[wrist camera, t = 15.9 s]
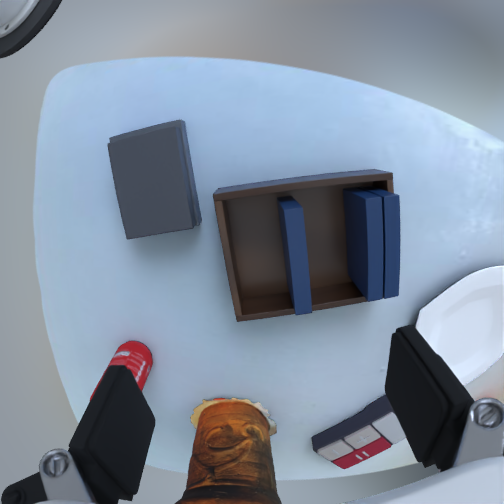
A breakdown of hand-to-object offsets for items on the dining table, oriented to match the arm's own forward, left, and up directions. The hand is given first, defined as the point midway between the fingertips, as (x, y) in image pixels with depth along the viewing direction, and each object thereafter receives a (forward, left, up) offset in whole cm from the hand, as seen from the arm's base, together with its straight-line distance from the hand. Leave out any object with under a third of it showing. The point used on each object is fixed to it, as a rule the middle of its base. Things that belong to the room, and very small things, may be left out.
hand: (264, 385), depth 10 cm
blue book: (+3, +4, -24) cm, 24 cm away
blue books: (+3, +12, -24) cm, 27 cm away
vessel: (+31, -8, -25) cm, 40 cm away
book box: (+3, +5, -25) cm, 25 cm away
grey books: (-6, -10, -25) cm, 27 cm away
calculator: (+39, +13, -25) cm, 48 cm away
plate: (+22, +30, -25) cm, 45 cm away
